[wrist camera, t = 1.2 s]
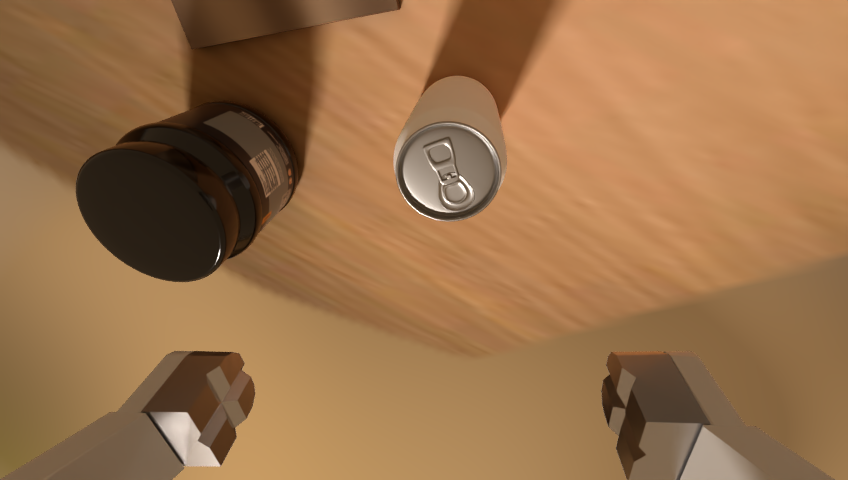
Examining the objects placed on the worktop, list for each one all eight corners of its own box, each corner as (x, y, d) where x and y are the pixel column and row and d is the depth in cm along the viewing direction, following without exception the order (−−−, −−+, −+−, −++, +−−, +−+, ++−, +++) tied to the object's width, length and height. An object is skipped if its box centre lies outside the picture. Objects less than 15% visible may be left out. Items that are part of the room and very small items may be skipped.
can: (433, 167, 33) (415, 241, 23) (403, 93, 30) (367, 139, 20) (507, 142, 31) (524, 209, 21) (483, 60, 28) (488, 92, 18)
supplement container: (169, 161, 36) (47, 225, 25) (216, 68, 31) (88, 100, 21) (268, 231, 38) (194, 313, 28) (325, 155, 34) (260, 222, 23)
